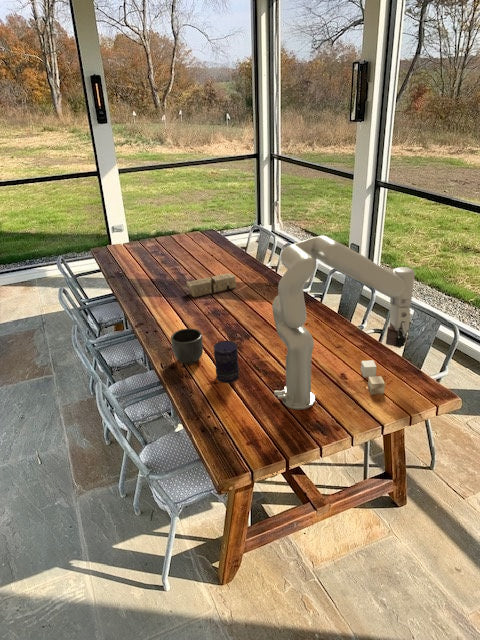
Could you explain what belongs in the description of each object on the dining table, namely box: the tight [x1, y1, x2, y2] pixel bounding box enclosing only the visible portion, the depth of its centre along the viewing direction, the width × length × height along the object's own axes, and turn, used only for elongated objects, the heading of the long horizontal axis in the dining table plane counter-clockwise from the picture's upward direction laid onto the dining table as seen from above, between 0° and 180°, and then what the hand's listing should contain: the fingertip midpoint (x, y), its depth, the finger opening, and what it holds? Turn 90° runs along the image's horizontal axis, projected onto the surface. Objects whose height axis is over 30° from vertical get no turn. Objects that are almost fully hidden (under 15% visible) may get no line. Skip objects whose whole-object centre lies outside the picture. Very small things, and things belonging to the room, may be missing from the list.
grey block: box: [360, 359, 377, 378], centre depth 193 cm, size 5×5×5 cm
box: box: [385, 324, 408, 349], centre depth 181 cm, size 6×6×7 cm
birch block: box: [367, 375, 386, 395], centre depth 182 cm, size 5×5×5 cm
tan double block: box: [186, 272, 237, 298], centre depth 283 cm, size 8×8×29 cm
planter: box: [170, 328, 204, 366], centre depth 209 cm, size 14×14×13 cm
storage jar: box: [213, 340, 240, 384], centre depth 195 cm, size 10×10×15 cm
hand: (396, 340), depth 182 cm, fingers closed on box, 8 cm apart
